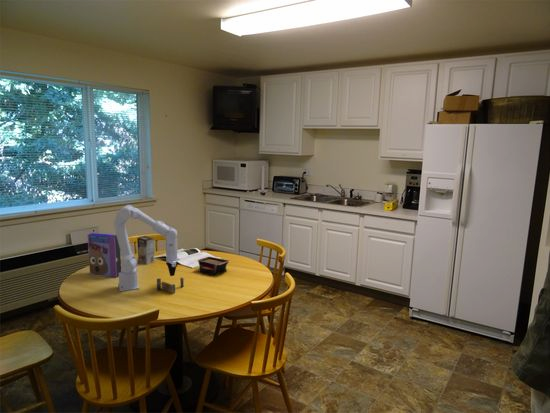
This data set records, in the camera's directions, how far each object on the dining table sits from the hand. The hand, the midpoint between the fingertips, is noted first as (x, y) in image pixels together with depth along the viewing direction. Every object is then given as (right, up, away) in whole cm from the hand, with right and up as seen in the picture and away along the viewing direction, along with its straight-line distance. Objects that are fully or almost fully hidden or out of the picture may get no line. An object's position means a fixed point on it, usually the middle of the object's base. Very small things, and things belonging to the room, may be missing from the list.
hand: (172, 275), depth 202 cm
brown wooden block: (0, -7, -6) cm, 9 cm away
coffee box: (-28, +1, +40) cm, 49 cm away
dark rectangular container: (+18, -3, +26) cm, 31 cm away
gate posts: (0, -7, -2) cm, 7 cm away
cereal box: (-43, -3, +16) cm, 46 cm away
